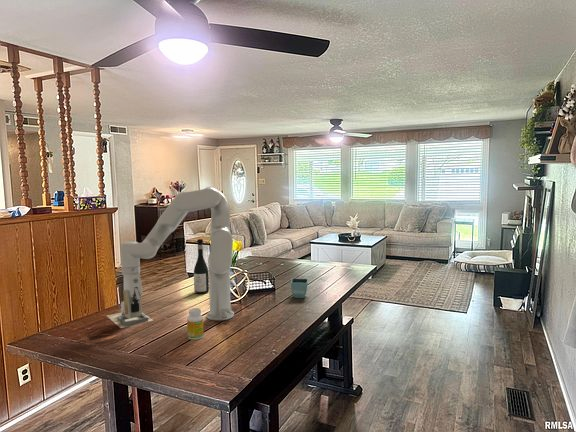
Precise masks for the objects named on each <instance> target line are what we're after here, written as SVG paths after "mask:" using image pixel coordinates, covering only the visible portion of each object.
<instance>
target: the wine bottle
mask: <svg viewBox="0 0 576 432" xmlns="http://www.w3.org/2000/svg"><path fill="white" fill-rule="evenodd" d="M203 240H204V239H202V238H200V239H197V240H196V241H197V260H196V263H195V265H194V268H193V285H194V287H193V291H194V293H195V294H197V295H204V294H207V293H209V267H208V264H207V263H206V261H205V258H204V247H203V246H204V241H203Z"/></svg>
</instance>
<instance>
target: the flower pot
mask: <svg viewBox="0 0 576 432" xmlns="http://www.w3.org/2000/svg"><path fill="white" fill-rule="evenodd" d="M308 282H309V279H308V278H292V279H291V281H290V289H291V294H292V296H293V298H295V299H305V297H306V295H307V291H308Z"/></svg>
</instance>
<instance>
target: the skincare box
mask: <svg viewBox="0 0 576 432" xmlns="http://www.w3.org/2000/svg"><path fill="white" fill-rule="evenodd" d="M122 293H123V301H124V307H125V317H127V318H128V319H131V318H134V317H138V316H141V315H142V313H143V305H142V304H143V303H142V295H141V296H140V295H139V296H140V299H139V312H134V313H132V311H131V304H132V300H131V297H130V296H129V292H128V291H127V290H124V289H123V290H122ZM138 293H139V292H138ZM133 296H135V295H133ZM133 299H135V298H133Z"/></svg>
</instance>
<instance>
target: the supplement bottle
mask: <svg viewBox="0 0 576 432" xmlns="http://www.w3.org/2000/svg"><path fill="white" fill-rule="evenodd" d="M186 321H187V322H186V323H187V324H186V325H187V338H188V339H189V340H195V341H196V340H200V339H203V338H204V334H205V333H204V316H203V315H202V310H201V308H199V307H196V308H195V307H193V308H190V309H188V316H187V318H186Z"/></svg>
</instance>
